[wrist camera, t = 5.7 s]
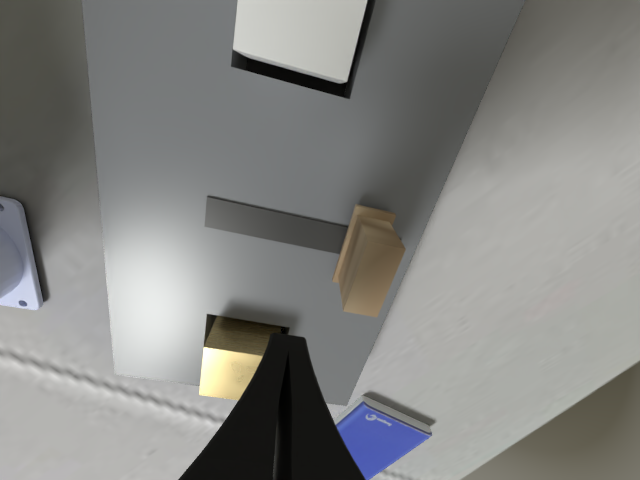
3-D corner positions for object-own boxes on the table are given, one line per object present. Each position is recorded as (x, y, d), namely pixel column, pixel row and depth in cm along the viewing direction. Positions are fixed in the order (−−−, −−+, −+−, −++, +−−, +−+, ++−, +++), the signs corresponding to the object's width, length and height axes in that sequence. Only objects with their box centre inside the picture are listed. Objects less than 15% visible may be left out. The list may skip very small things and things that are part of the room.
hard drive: (364, 405, 25) (285, 473, 29) (433, 437, 27) (351, 495, 31) (361, 389, 26) (287, 455, 31) (427, 420, 28) (349, 478, 33)
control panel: (138, 340, 22) (113, 375, 19) (120, -163, 11) (56, -250, 8) (342, 371, 24) (346, 407, 21) (501, -27, 13) (552, -59, 10)
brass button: (213, 354, 20) (199, 394, 18) (219, 310, 19) (203, 347, 16) (271, 363, 21) (265, 403, 18) (281, 320, 19) (277, 358, 16)
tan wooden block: (332, 278, 16) (336, 317, 13) (355, 204, 14) (366, 231, 11) (367, 285, 16) (378, 324, 14) (394, 213, 14) (414, 241, 12)
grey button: (249, 58, 13) (232, 49, 10) (264, -65, 11) (249, -117, 8) (339, 84, 13) (347, 81, 10) (367, -30, 11) (384, -68, 9)
